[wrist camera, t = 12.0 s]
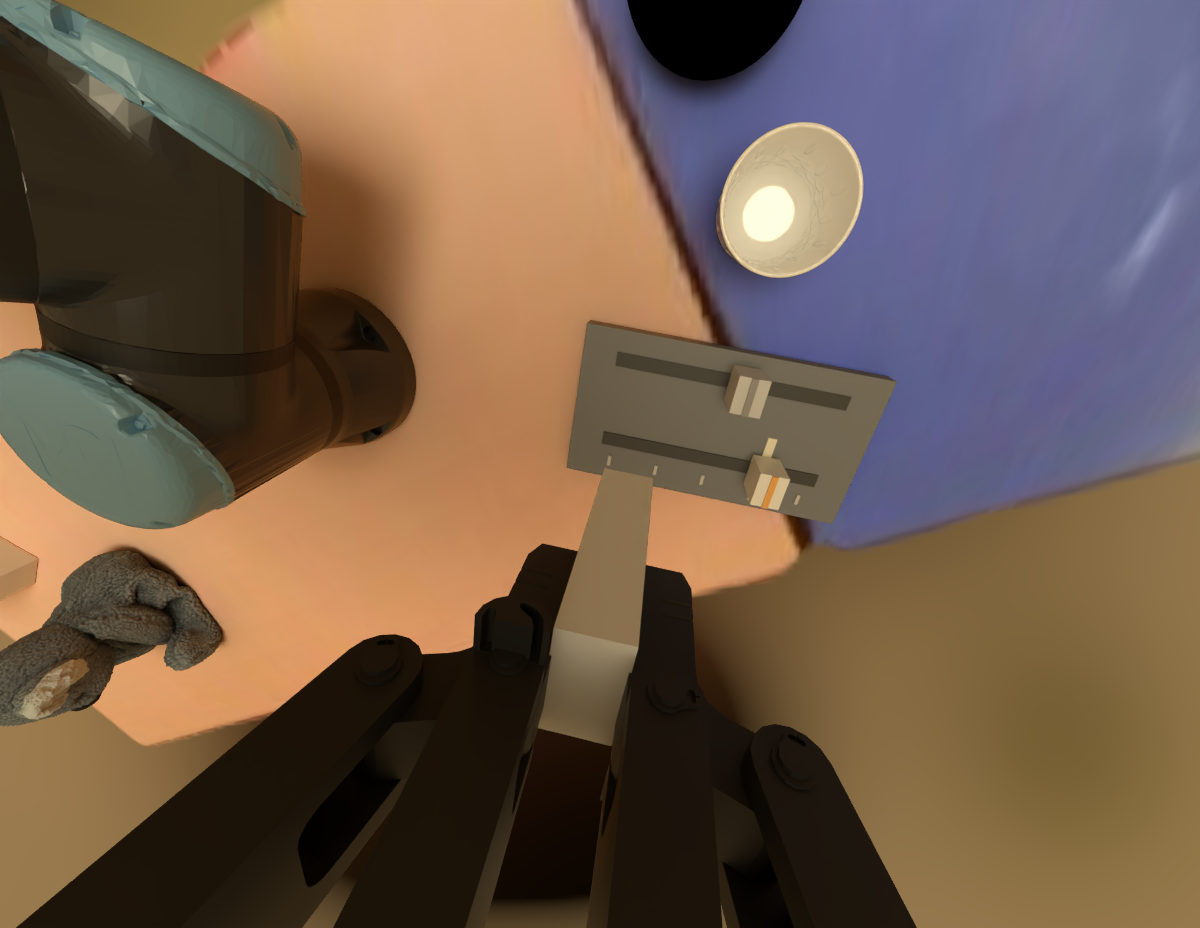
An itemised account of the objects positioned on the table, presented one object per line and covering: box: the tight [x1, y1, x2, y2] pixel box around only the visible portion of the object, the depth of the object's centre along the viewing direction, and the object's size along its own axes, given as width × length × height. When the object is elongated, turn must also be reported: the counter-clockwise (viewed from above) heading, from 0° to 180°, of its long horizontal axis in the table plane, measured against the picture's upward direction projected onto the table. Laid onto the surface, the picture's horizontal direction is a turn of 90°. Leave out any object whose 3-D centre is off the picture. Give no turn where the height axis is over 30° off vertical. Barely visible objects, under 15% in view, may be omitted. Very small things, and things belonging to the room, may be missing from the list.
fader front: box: [724, 365, 772, 419], centre depth 37 cm, size 2×3×4 cm
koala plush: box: [0, 550, 222, 726], centre depth 56 cm, size 17×18×20 cm
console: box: [567, 320, 897, 524], centre depth 42 cm, size 26×14×2 cm, turn 80°
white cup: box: [716, 122, 863, 278], centre depth 31 cm, size 8×8×10 cm
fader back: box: [744, 454, 790, 510], centre depth 40 cm, size 2×3×4 cm
